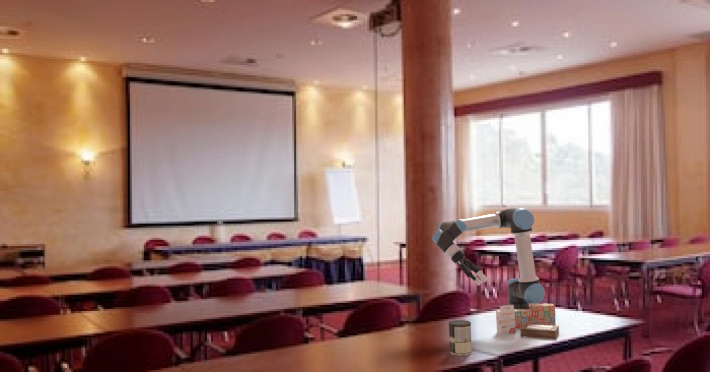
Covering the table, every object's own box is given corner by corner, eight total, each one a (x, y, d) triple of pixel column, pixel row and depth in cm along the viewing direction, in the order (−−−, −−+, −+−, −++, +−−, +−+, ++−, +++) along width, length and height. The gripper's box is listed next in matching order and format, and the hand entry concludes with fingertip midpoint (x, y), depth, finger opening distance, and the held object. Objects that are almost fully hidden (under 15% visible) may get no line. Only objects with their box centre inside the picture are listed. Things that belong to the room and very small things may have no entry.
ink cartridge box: (511, 331, 336) (509, 303, 337) (515, 332, 332) (514, 304, 332) (496, 332, 334) (495, 304, 334) (501, 334, 329) (499, 306, 330)
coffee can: (445, 353, 293) (444, 323, 294) (456, 349, 301) (455, 319, 302) (465, 356, 287) (463, 325, 287) (476, 351, 295) (475, 321, 295)
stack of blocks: (515, 328, 343) (514, 305, 343) (513, 326, 349) (512, 303, 349) (556, 327, 341) (555, 305, 341) (553, 325, 347) (552, 303, 347)
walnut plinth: (525, 331, 334) (525, 323, 334) (558, 333, 327) (558, 325, 327) (520, 336, 322) (520, 328, 322) (555, 338, 315) (555, 330, 315)
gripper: (456, 256, 357) (484, 284, 350) (443, 260, 334) (472, 290, 328) (465, 247, 355) (493, 274, 348) (453, 251, 332) (482, 280, 325)
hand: (483, 282), depth 338 cm, fingers open, 13 cm apart
